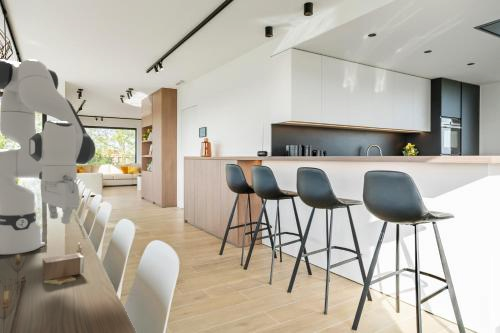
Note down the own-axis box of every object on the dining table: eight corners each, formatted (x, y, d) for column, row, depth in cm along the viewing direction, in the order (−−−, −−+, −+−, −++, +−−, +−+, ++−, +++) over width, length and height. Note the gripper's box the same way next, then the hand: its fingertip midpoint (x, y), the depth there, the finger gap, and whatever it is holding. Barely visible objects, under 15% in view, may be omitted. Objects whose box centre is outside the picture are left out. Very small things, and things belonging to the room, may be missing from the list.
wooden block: (42, 258, 96) (79, 252, 103) (42, 275, 96) (78, 268, 103) (46, 262, 92) (84, 256, 99) (45, 280, 93) (83, 272, 99)
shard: (71, 272, 104) (71, 266, 104) (91, 274, 103) (91, 269, 103) (42, 285, 94) (42, 278, 94) (64, 287, 92) (64, 281, 92)
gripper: (85, 176, 92) (85, 224, 93) (58, 172, 106) (58, 214, 106) (61, 177, 87) (60, 228, 88) (36, 173, 101) (36, 217, 101)
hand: (59, 220), depth 97 cm, fingers open, 8 cm apart
